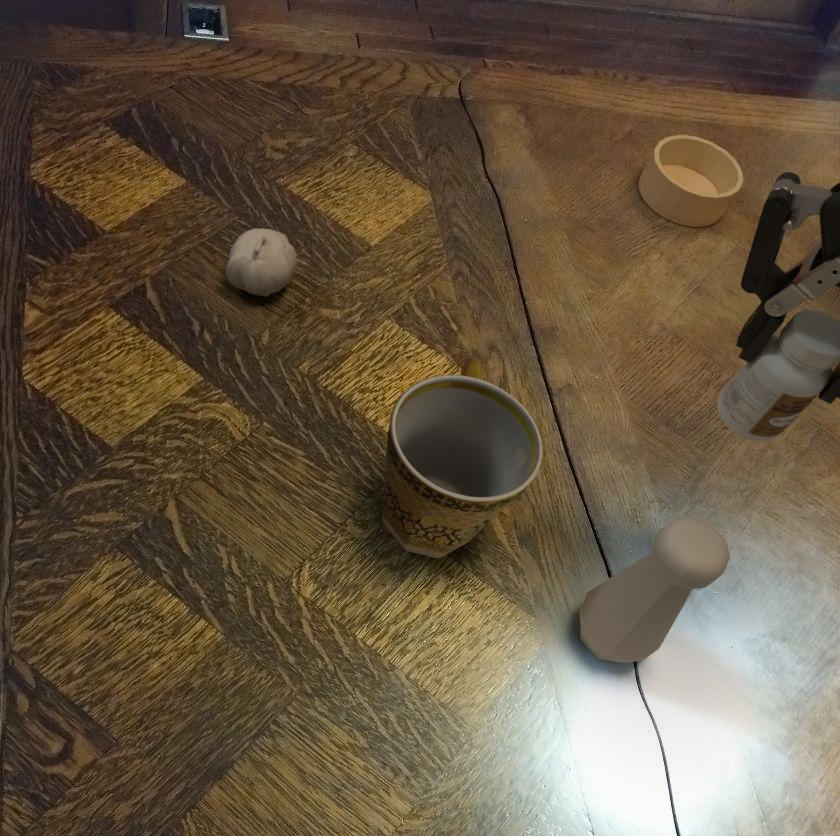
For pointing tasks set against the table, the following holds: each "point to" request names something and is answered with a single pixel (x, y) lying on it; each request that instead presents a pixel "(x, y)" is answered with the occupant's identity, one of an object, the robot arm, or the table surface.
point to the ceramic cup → (455, 460)
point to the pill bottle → (782, 377)
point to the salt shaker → (652, 591)
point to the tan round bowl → (690, 180)
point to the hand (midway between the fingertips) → (786, 371)
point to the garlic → (261, 262)
